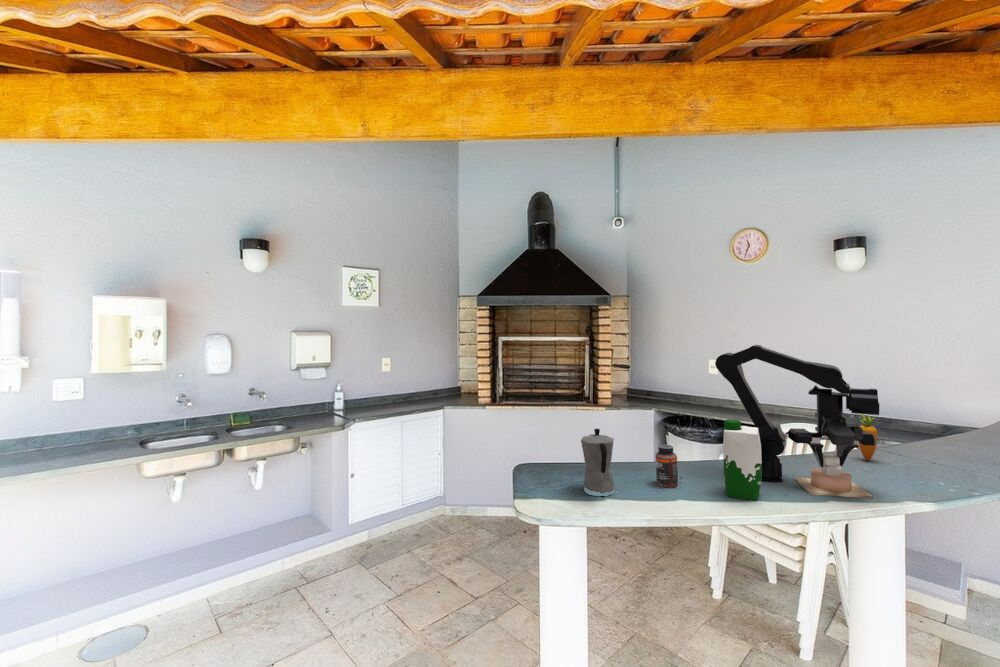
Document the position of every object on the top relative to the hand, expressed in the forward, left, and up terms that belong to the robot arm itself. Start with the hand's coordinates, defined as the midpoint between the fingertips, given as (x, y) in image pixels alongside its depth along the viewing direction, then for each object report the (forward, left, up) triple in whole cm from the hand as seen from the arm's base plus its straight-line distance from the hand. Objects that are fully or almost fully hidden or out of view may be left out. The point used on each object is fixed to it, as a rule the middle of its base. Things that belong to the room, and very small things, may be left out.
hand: (830, 467), depth 119 cm
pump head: (0, -2, -2) cm, 2 cm away
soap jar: (0, 0, -6) cm, 6 cm away
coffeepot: (-62, -13, -6) cm, 64 cm away
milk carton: (-24, -8, -6) cm, 26 cm away
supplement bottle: (-43, -4, -6) cm, 44 cm away
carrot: (+21, +26, -6) cm, 34 cm away
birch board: (0, 0, -6) cm, 6 cm away
